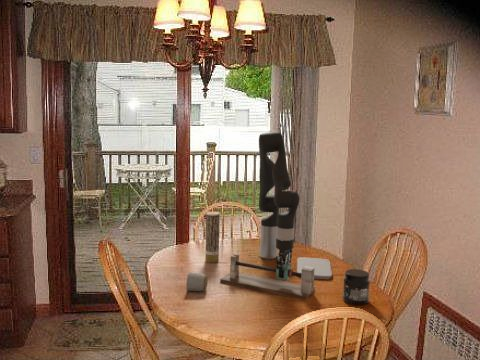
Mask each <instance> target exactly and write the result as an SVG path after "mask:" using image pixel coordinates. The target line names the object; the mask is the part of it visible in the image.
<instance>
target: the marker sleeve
mask: <svg viewBox="0 0 480 360" xmlns="http://www.w3.org/2000/svg"><path fill="white" fill-rule="evenodd" d="M280 266H281V265H280ZM275 269H276V272H275V279H276V280H281V281H283V280H284V281H288V280H289V279H291V277H289V275H288V271H289V270H290V269H291V270H292V264H291V263H289V264H285V267H284V278H279V269H277V268H275Z"/></svg>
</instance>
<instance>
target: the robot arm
mask: <svg viewBox="0 0 480 360" xmlns="http://www.w3.org/2000/svg"><path fill="white" fill-rule="evenodd" d="M283 137H284V136H283V134H282V132H280V131H270V132H263V133H260V134H259V136H258V149H259V150H258V151H259V177H258V178H259V193H258V194H259V195H258V209H259V211H260V212H262V213H272V214H271V215H268V216H266V217H263V218H261V220H260V238H259V239H260V240H259V241H260V242H259V243H260V246H259V257H260V258H261V259H262V258H263V259H269V260H270V259H272V260H273V259H275V263H276V264H275V265H276V268H277V269H279V278H284V267H285V264H291V263H292V257H293V249H294V243H295V242H294V241H295V229H294V228H295V227H294V226H295V217H296V213H297V209H298V208H299V203H300V195H299V193H298V192H297V191H296V190H288V189H290V188H291V185H292V182H291V178H290V175H289V174H290V173H289V170H288V164H287V156H286V148H285V147H286V146H285V142H284V141H285V140H284V138H283ZM276 152H277V153H278V154H277V158H276V161H275V162H274V161H273V160H272V159H271V158H270V157H269V155H268V154H270V153H276ZM273 188H274V194H268V193H269V192H270V191H271V190H272V189H273ZM280 209H287V210H286V211H283V212H280ZM278 250H279V251H278ZM280 265H281V266H280ZM276 268H275V269H276Z"/></svg>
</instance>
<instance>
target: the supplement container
mask: <svg viewBox="0 0 480 360" xmlns="http://www.w3.org/2000/svg"><path fill="white" fill-rule="evenodd" d="M344 276H345V277H344V278H343V279H342V280H343V284H342V285H343V286H342V288H343V289H342V300H343V301H344V302H345V303H347V304H350V305H352V306H353V305H354V306H363V304H364V305H366V304H368V303H369V301H370V297H369V296H370V285H371V282H370V273H369V272H368V271H366V270H364V269H358V268H351V269H350V268H349V269H347V270H345V272H344Z"/></svg>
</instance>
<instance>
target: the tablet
mask: <svg viewBox="0 0 480 360" xmlns="http://www.w3.org/2000/svg"><path fill="white" fill-rule="evenodd" d="M296 261H297V262H296V272H297V273H302V269H303V268H304V267H305V266H309V267H314V268H315V270H314V280H316V279H317V280H330V279H331V278H332V277H333V272H332V267H331V263H330V260H329V259H326V258H319V257H306V256H303V257H300V256H299V257H297V259H296ZM329 278H330V279H329Z"/></svg>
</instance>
